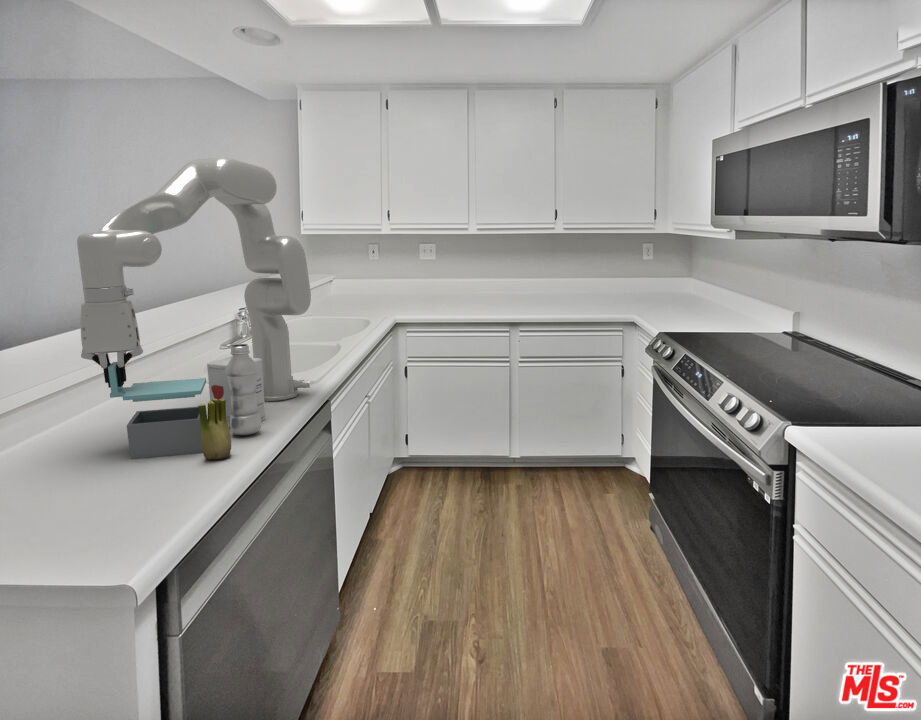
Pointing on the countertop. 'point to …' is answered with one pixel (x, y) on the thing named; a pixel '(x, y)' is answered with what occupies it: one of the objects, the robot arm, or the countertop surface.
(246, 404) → the plastic bottle
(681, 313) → the countertop surface
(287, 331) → the robot arm
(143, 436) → the tub
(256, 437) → the countertop surface
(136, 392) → the lid
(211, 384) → the supplement box
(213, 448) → the fennel bulb
